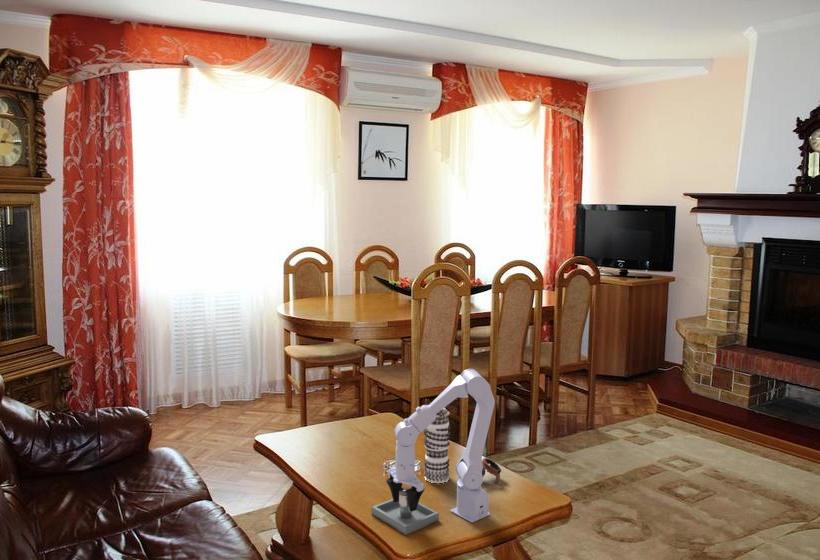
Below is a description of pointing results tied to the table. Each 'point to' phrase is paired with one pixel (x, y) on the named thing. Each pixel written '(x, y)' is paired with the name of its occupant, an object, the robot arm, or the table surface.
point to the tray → (418, 520)
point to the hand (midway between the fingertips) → (405, 505)
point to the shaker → (404, 504)
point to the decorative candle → (437, 449)
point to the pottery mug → (491, 468)
